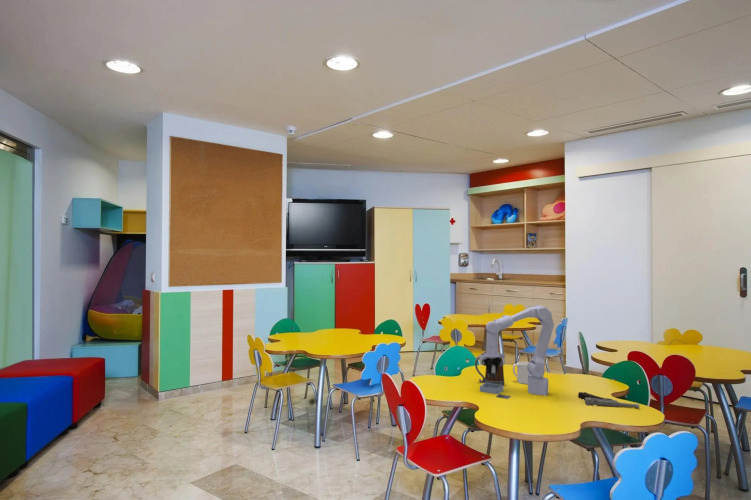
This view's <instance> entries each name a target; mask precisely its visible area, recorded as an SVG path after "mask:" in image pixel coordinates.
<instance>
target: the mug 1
mask: <svg viewBox="0 0 751 500" xmlns="http://www.w3.org/2000/svg"><path fill="white" fill-rule="evenodd" d="M500 359H502V360H501V362H500V364H499V366H498V370H497V373H495V374H496V378H490V377H488V374H489V373H487V369H486V368H485V373H484V374H485V375H483V374H482V372H481V371H480V370H479V368H478V362H479V360H480V359H479V356H477V357H476V358H475V360H474V366H475V370H476V371H477V373H478V374H479V375H480V376H481V378H482V379H481V378H480V379H478V381H479V382H480V383H481V384H484V383H486V382H487V383H493V384H499V385H504V386H505V375H504V373H505V372H504V358H500ZM482 365H483V367H486V366H485V363H484V362H483V363H482Z"/></svg>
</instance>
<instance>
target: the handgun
mask: <svg viewBox="0 0 751 500" xmlns="http://www.w3.org/2000/svg"><path fill="white" fill-rule="evenodd" d="M577 397H579V399H580V398H581V399H580V400H582V399H584V400H583V401H584V404H585V405H586V406H593V405H597V406H603V405H605V406H606V407H613V406H615V408H619V407H623V406H624V407H625V408H626V407H627V408H636V409H637V408H639V409H640V404H639V403H637V404H635V403H626V402H620V401H618V400H615V399H612V398H607V397H605V398H604V397H601V396H597V395H594V394H591V393H588V392H586V391H585V392H583V391H579V392H578V393H577ZM591 404H593V405H591ZM624 407H623V408H624Z"/></svg>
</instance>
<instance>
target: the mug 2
mask: <svg viewBox="0 0 751 500" xmlns="http://www.w3.org/2000/svg"><path fill="white" fill-rule="evenodd" d="M529 362H530V361H517V363H514V364H513V365H512V372H513V375H514V376H515V377H516V382H517V383H518V384H521V385H527V386H528V374H529V371H528V369H527V365H528V363H529ZM515 367H516V368H515ZM516 369H517V370H516ZM516 371H517V372H516ZM516 373H517V374H516Z"/></svg>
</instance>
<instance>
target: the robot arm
mask: <svg viewBox="0 0 751 500" xmlns="http://www.w3.org/2000/svg"><path fill="white" fill-rule="evenodd" d="M501 316H502V317H500V318H497V319H496V318H494V319H493V320H492V321H491V320H490V321H488V322H487V323H486V325H485V330H486V351H485V353H484V354H479V356H478V357H479V360H482V362H483V364H484V363H485V366H484V367H485V370H486V369H487V373H489V374H491V369H492V364H494V365H496V369H495V373H497V370H498V366H499V364H500V362H501V360H502V359H500V358H503V359H504V358H506V357H505V355H506V354H505V353H501V352H500V353H499V332H500V331H503V330H505V329H508V328H510V327H512V326H513V325H514V323H516V322H518V321H521V320H523V319H524V320H525V319H527V318H536V319H537V320H538V321H539V323H540V324H541V329H540V332H539V336H538V339H537V343H536V346H535V349H534V353H533V356H532V357H531V358H530V361H528V362H529V363H528V365H527V369H528V371H529V374H528V385H527V393H529V394H531V395H537V396H538V395H539V396H544V397H545V396H547V395H548V394H549V378H548V377H544V375H545V370H546V369H545V366H546V365H545V358H546V354H547V351H548V348H549V343H550V340H551V338H552V334H553V330H554V326H555V324H554V319H553V317H552V312H551V310H550V309H549V308H548V307H547V306H543V305H538V304H536V305H535V306H530V307H528V308H526V309H523V310H522V311H519V312H517V313H515V314H512V315H509V314H507V315H505V314H504V315H501Z"/></svg>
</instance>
